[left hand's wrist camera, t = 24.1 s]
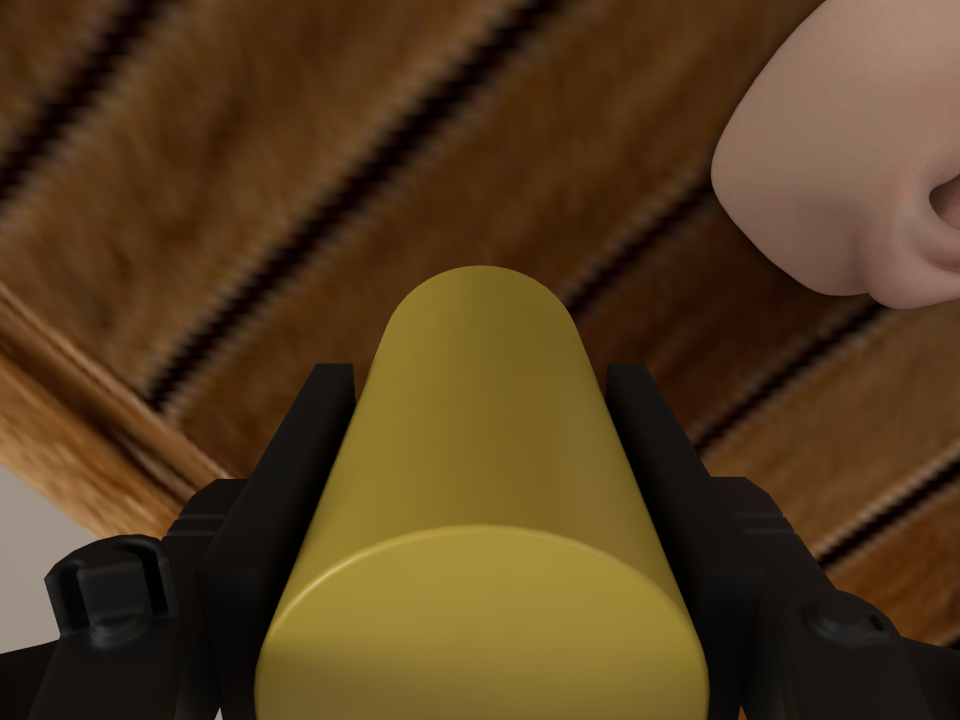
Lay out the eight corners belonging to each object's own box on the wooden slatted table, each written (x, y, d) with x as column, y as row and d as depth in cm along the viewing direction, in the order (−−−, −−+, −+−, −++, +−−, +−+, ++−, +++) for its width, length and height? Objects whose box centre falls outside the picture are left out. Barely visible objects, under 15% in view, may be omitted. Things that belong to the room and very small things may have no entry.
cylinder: (339, 362, 18) (157, 718, 8) (481, 220, 17) (483, 431, 6) (480, 484, 19) (480, 919, 9) (622, 362, 18) (805, 719, 8)
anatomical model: (709, 274, 21) (896, -160, 17) (673, 247, 24) (820, -114, 20) (1082, 387, 22) (1337, 12, 18) (996, 346, 26) (1192, 26, 22)
